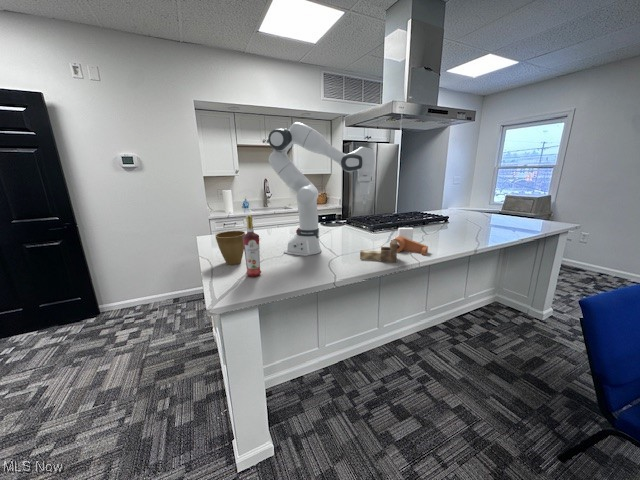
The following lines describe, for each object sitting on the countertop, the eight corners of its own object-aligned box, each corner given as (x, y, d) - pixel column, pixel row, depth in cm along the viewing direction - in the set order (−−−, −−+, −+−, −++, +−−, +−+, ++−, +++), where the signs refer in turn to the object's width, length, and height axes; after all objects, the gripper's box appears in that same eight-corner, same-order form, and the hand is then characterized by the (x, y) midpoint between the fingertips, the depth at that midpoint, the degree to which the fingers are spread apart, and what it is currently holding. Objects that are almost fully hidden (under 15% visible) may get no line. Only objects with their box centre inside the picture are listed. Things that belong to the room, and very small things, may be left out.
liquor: (247, 279, 119) (241, 218, 111) (244, 273, 125) (239, 215, 118) (263, 276, 121) (258, 216, 114) (260, 271, 128) (255, 214, 121)
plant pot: (239, 256, 151) (236, 229, 147) (253, 262, 140) (250, 233, 136) (213, 262, 141) (210, 233, 137) (226, 269, 130) (223, 238, 126)
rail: (359, 259, 143) (360, 252, 142) (360, 257, 147) (360, 250, 146) (388, 260, 140) (388, 253, 139) (388, 258, 143) (388, 251, 142)
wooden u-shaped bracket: (380, 261, 139) (381, 243, 136) (380, 256, 146) (381, 239, 144) (396, 262, 137) (397, 244, 135) (395, 257, 145) (396, 240, 142)
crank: (389, 251, 158) (390, 238, 156) (393, 247, 164) (394, 235, 162) (424, 256, 147) (425, 242, 145) (427, 252, 153) (428, 239, 151)
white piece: (399, 249, 160) (400, 230, 157) (395, 245, 169) (396, 226, 166) (414, 248, 160) (415, 229, 157) (409, 244, 169) (410, 226, 166)
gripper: (361, 177, 155) (360, 200, 158) (358, 178, 135) (357, 205, 139) (372, 177, 153) (371, 200, 157) (370, 178, 134) (369, 205, 138)
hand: (364, 202), depth 148 cm, fingers open, 8 cm apart
